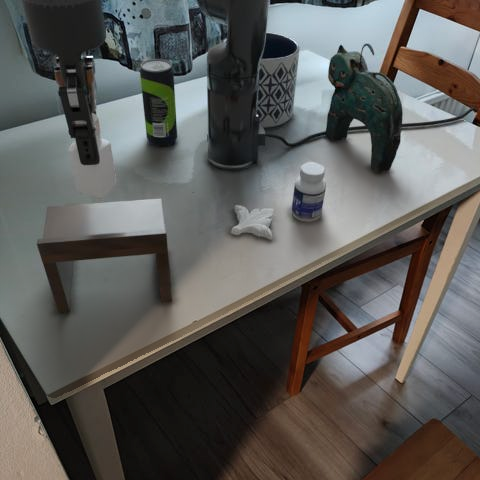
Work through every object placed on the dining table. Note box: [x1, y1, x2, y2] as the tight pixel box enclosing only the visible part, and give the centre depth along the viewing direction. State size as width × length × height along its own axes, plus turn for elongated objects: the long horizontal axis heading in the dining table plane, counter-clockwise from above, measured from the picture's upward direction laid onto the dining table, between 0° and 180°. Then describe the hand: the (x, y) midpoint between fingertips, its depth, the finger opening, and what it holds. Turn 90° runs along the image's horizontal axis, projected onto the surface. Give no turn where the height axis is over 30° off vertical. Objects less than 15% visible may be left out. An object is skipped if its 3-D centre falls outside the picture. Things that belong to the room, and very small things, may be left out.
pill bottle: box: [291, 161, 327, 223], centre depth 88 cm, size 5×5×9 cm
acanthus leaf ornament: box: [231, 204, 275, 241], centre depth 88 cm, size 8×7×2 cm
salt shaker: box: [67, 113, 118, 199], centre depth 63 cm, size 4×4×10 cm
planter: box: [222, 31, 300, 129], centre depth 112 cm, size 16×16×14 cm
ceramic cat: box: [325, 43, 404, 174], centre depth 100 cm, size 20×6×20 cm, turn 29°
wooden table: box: [36, 198, 173, 313], centre depth 74 cm, size 16×11×12 cm
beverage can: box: [139, 58, 178, 147], centre depth 102 cm, size 6×6×15 cm
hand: (91, 150), depth 63 cm, fingers closed on salt shaker, 5 cm apart
